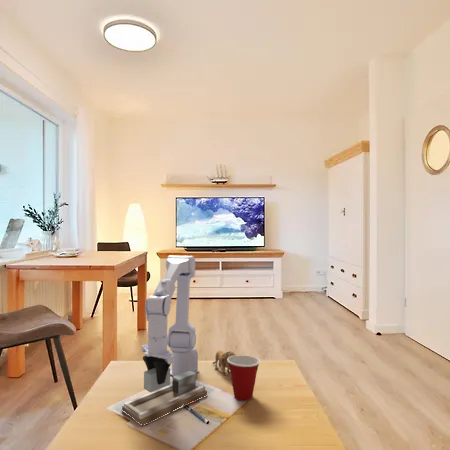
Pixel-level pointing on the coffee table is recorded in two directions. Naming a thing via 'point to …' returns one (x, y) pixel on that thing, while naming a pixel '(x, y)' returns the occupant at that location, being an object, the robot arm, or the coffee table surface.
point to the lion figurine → (223, 360)
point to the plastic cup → (243, 375)
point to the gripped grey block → (154, 380)
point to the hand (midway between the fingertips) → (157, 381)
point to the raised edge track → (165, 398)
